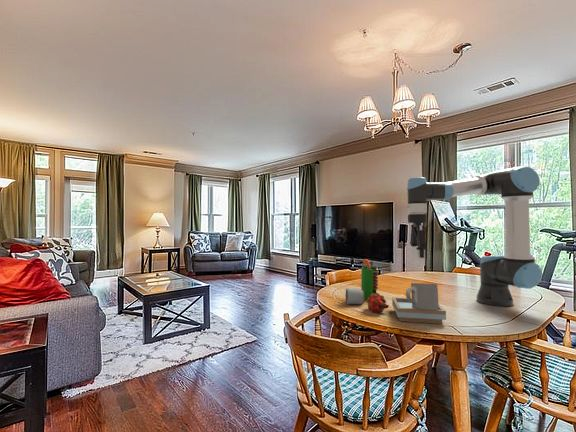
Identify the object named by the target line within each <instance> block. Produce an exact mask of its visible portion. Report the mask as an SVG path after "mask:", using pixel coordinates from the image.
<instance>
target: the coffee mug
mask: <svg viewBox="0 0 576 432" xmlns="http://www.w3.org/2000/svg"><path fill="white" fill-rule="evenodd" d="M438 290H439V289H438V283H419V282H415V283H414V282H411V283H410V287H408V288H406V291H405V298H407V300H408V301H409V302H411V303H412V308H415V309H426V310H439V304H440V303H439V291H438ZM411 298H412V299H411ZM438 303H439V304H438Z"/></svg>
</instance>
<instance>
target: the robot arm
mask: <svg viewBox="0 0 576 432" xmlns="http://www.w3.org/2000/svg"><path fill="white" fill-rule="evenodd" d="M540 181H541V180H540V176H539V174H538V172H537V171H536V170H535V169H534V168H532V167H530V166H525V165H524V166H514V167H510V168H505V169H499V170H495V171H492V172H488V173H485V174H479V175H475V176H474V177H472V178H466V179H465V178H464V179H459V180H453V181H445V182H428V181H427V178H426V177H423V176H419V177H416V176H415V177H410V178H409V179H407V184H406V185H407V189H406V190H407V206H406V209H407V213H408V215H407V223H409V224H411V225H410V239H409V241H410V243H409V244H410V249H411V250H410V254H411V255H410V256H411V258H410V260H411V262H417V266H418V267H420V266H422V267H424V266H426V249H427V242H426V234H425V225H423V224H425V223H426V224H427V222H428V217H427V216H428V214H426V213H427V212H428V208H427V206H428V204H427V202H428V201H429V202H430V201H446V200H447V201H448V200H450V199H451V198H454V197H461V196H468V195H469V196H470V195H478V196H483V195H500V197H501V199H502V200H503V201H504V202H505V231H506V233H505V234H506V235H505V236H506V238H505V239H506V253H505V254H504V255H487V256H486V255H484V256H481V257H480V262H479V267H480V268H479V271H480V272H479V273H480V285H479V288H478V291H477V294H476V301H477V302H478V303H481V304H484V305H490V306H496V307H510V306H511V307H512V306H513V305H514V299H513V298H514V297H513V296H512V293H511V290H510V288H509V287H510V286H513V287H516V288H519V289H528V290H529V289H533V288H534V287H536V286H538V284H540V282H541V280H542V278H543V269H542V267H540V265H539V264H537V263H536V257H534V256H533V255H532V253H531V239H530V238H531V237H530V235H531V232H530V231H531V229H530V227H531V226H530V199H532V198H533V197H534V192H535V191H537V189H538V188H539V186H540V183H541V182H540Z"/></svg>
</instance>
